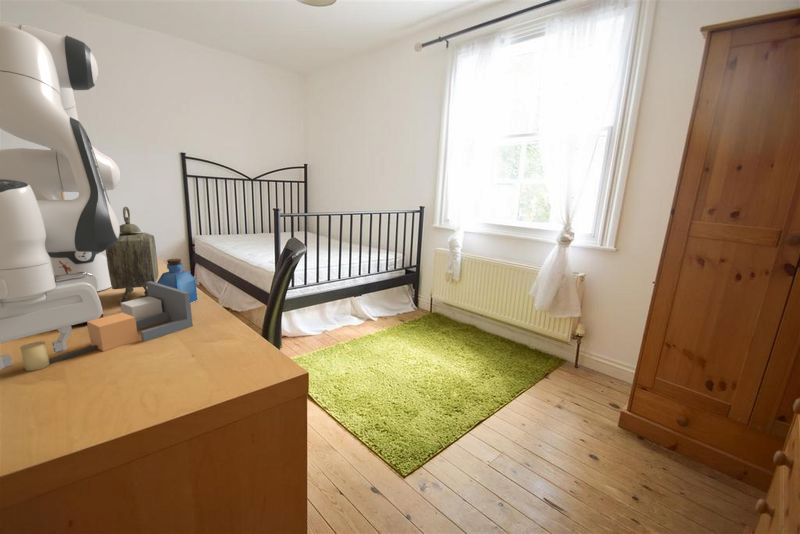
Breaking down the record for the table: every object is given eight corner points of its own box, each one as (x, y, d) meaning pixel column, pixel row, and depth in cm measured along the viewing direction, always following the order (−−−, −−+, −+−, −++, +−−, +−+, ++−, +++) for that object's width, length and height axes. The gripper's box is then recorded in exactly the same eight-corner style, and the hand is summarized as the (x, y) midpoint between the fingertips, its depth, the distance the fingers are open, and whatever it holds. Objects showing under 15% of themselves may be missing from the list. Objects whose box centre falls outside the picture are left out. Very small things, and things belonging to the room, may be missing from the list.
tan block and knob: (20, 366, 61) (14, 339, 60) (125, 334, 75) (122, 312, 74) (31, 374, 59) (25, 346, 58) (138, 340, 72) (135, 317, 71)
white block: (123, 323, 81) (120, 302, 80) (152, 315, 86) (149, 296, 85) (134, 328, 78) (131, 307, 77) (163, 320, 83) (161, 300, 82)
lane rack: (106, 324, 79) (101, 290, 78) (154, 311, 88) (150, 281, 86) (144, 341, 72) (139, 304, 70) (192, 325, 80) (189, 292, 79)
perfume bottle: (179, 308, 91) (174, 263, 89) (159, 305, 92) (153, 261, 90) (197, 300, 97) (193, 258, 94) (178, 298, 98) (173, 256, 96)
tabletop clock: (124, 291, 103) (111, 205, 97) (161, 288, 107) (151, 205, 101) (113, 306, 90) (98, 208, 85) (156, 302, 95) (144, 208, 89)
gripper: (87, 267, 68) (98, 333, 71) (-91, 293, 50) (-65, 379, 54) (102, 272, 65) (114, 341, 68) (-81, 301, 47) (-54, 392, 51)
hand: (33, 358), depth 61 cm, fingers open, 5 cm apart
